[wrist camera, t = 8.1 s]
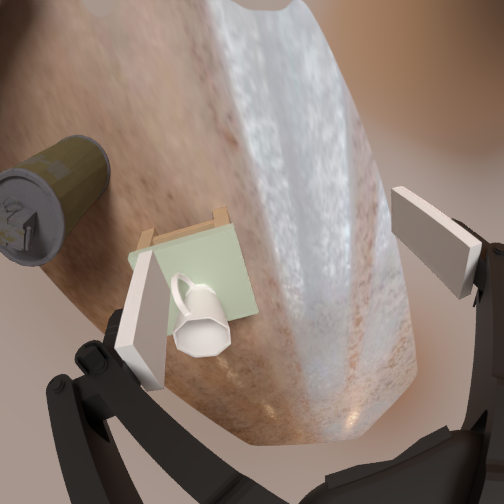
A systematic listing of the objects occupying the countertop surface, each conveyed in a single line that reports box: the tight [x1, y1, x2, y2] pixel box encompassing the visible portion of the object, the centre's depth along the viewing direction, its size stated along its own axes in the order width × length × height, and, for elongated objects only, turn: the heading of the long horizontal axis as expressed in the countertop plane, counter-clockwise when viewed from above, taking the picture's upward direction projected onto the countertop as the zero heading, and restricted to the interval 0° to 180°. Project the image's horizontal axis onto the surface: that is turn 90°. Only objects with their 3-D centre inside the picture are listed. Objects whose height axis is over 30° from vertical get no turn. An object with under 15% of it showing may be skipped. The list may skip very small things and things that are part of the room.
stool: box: [128, 207, 259, 336], centre depth 45 cm, size 14×14×8 cm
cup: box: [171, 273, 231, 358], centre depth 38 cm, size 7×10×8 cm
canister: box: [0, 135, 110, 267], centre depth 30 cm, size 11×10×20 cm
